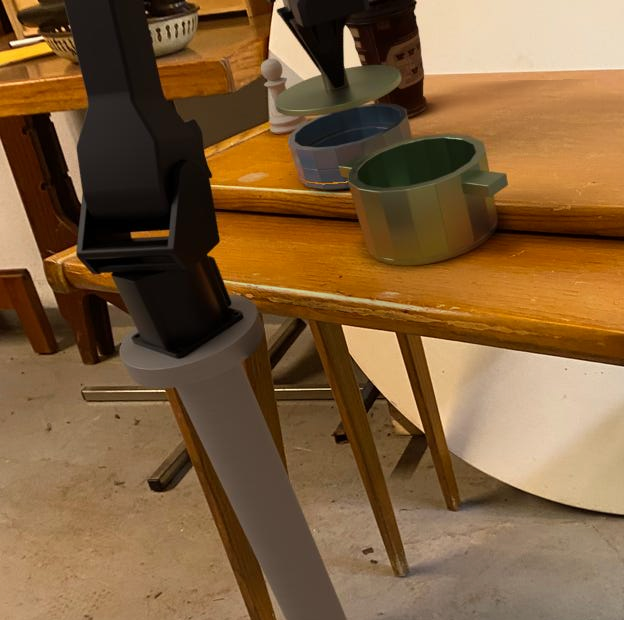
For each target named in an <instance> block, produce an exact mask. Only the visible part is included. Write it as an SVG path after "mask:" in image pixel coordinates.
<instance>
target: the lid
mask: <svg viewBox="0 0 624 620" xmlns="http://www.w3.org/2000/svg"><path fill="white" fill-rule="evenodd" d="M319 68H320V66H319ZM320 72H321V73H320ZM319 73H320V74H318V75H315V76H312V77H310V78H307V79H305V80H302V81H300V82H298V83H295V84H293V85H292V86H289V87H288V88H286V90H285V91H283V92H282V93H281V94H280V95H279V96H278V97H277V98H276V100H275V106H276V109H277V111H278V112H279V113H281V114H283V115H287V116H296V117H305V118H306V117H318V116H322V115H324V114H332V113H337V112H341V111H346V110H349V109H352V108H355V107H358V106H361V105H364V104H370V103H372V102H374V100H376V99H378V98H380V97H382V96H384V95H386V94H388V93H389V92H391V91H392V90H394V89H395V88H396V87H397V86H398V85H399V84H400V82H401V75H400V72H399V70H398V69H397V68H395V67H391V66H386V65H366V66H362V65H357V66H352V67H345V66H344V85H343V86H341V87H338V88H334V87H333V86H332V84H331V83H330V81H329V80H328V79H327V77H326V76H325V74H324V73H323V71H322V70H321V68H320V71H319Z"/></svg>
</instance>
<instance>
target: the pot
mask: <svg viewBox="0 0 624 620" xmlns="http://www.w3.org/2000/svg"><path fill="white" fill-rule="evenodd" d="M339 170H340V173H341V176H342V177H346V178H348V184H349V187H350V189H349V190H350V194H351V197H352V201H353V204H354V208H355V212H356V215H357V219H358V222H359V226H360V229H361V233H362V237H363V240H364V243H365V247H366V249H367V251H368V253H369V255H370V256H371V257H372V258H373V259H375V260H376V261H377V262H378V261H379V262H380V263H383V264H387V265H393V266H401V267H403V266H404V267H407V266H409V267H410V266H411V267H413V266H422V265H423V266H424V265H430V264H435V263H439V262H444V261H447V260H450V259H454V258H457V257H459V256H461V255H464V254H466V253H469V252H471V251H473V250H475V249H476V248H478V247H479V246H481V245H483V244H484V243H485V242H487V241H488V240H489V239H490V238H491V237H492V236H493V235H494V233H496V230H497V228H498V223H499V220H498V219H499V216H498V212H497V206H496V200H495V195H496V194H497V193H499V192H500V191H502V190H504V189H505V188H507V187H508V186H509V182H508V175H507V173H505V172H497V171H490V167H489V160H488V155H487V151H486V147H485V144H484V141H482V140H480V139H477V138H475V137H474V136H471V135H466V134H465V135H464V134H454V133H444V134H443V133H442V134H432V135H423V136H418V137H415V138H413V139H410V140H405V141H401V142H398V143H395V144H392V145H390V146H387V147H384V148H382V149H379V150H377V151H375V152H373V153H371V154H369V155H368V156H366V157H362V156H356V157H354V158H352V159H351V160H349V161H347V162H345V163H344V164H342V165H340V166H339Z"/></svg>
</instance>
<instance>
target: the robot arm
mask: <svg viewBox="0 0 624 620" xmlns="http://www.w3.org/2000/svg"><path fill="white" fill-rule="evenodd" d="M266 1H267V3H269V4H272V3H273V4H274V3H276V2H277V0H266ZM144 2H145V1H144V0H63V4H64V8H65V12H66V16H67V19H68V20H67V21H68V24H69V28H70V33H71V37H72V41H73V45H74V49H75V54H76V57H77V61H78V65H79V70H80V73H81V77H82V82H83V86H84V90H85V95H86V99H87V108H86V112H85V115H84V119H83V122H82V126H81V129H80V132H79V136H78V140H77V143H76V155H77V156H76V157H77V163H78V168H79V169H78V170H79V179H80V185H81V192H82V194H81V204H80V214H79V223H78V231H77V242H76V251H75V254H76V257H77V259H78V260H79V262H81V263H82V264H83V266H84V267H85V268H86V269H87V270H88V271H89V272H90V273H91V274H92V275H93V276H94V275H102V274H110V276H111V278H112V280H113V283H114V285H115V287H116V289H117V290H118V294H119V295H120V297H121V299H122V301H123V303H124V306H125V307H126V309H127V312H128V313H129V315H130V318H131V319H132V322H133V324H134V326H135V327H136V328H137V330H138V333H136V334H135V335H133V336H132V337H131V339H132V341H133V343H134V344H137V345H139V346H142V347H145V348H148V349H151V350H153V351H156V352H159V353H162V354H165V355H167V356H170V357H173V358H176V359H181V358H184V357H186V356H187V355H189V354H190V353H192V352H193V351H195V350H196V349H198V348H199V347H201V346H202V345H204V344H205V343H207V342H208V341H210V340H212V339H213V338H215V337H216V336H218V335H219V334H221V333H222V332H224V331H225V330H227V329H228V328H230V327H231V326H233V325H234V324H236V323H237V322H239V321H240V320H242V319H243V318H244V316H243V313H242V311H239V310H236V309H232V308H229V306H231V303H232V301H231V299H230V296H229V291H228V289H227V287H226V284H225V281H224V279H223V276H222V274H221V271H220V269H219V266H218V264H217V261H216V259H215V257H213V256H212V255H211V256H210V255H209V254H210V252H212V250H214V248H216V247H217V245H219V243H220V242H221V237H220V233H219V227H218V221H217V220H218V219H217V215H216V208H215V203H214V197H213V191H212V184H211V180H210V179H213V173H212V171H211V168H210V167H209V164H208V161H207V157H206V154H205V145H204V138H203V131H202V129H201V127H200V126H199V123H198V121H196V119H195V118H194V119H192V118H191V119H183V118H182V116H181V115H180V114H179V113H178V112H177V111H176V109H175V108H174V107H173V105H171V103H170V102H169V101H168V99H167V98H166V97H165V93H164V91H163V85H162V82H161V77H160V71H159V68H158V63H157V58H156V53H155V50H154V45H153V44H154V43H153V40H152V36H151V30H150V26H149V21H148V16H147V13H146V7H145V4H144ZM282 3H283V7H279V8H277V9H276V13H277V14H278V16H279V17H280V18H281V19H282V21H283V23H284V24H285V25H286V26H287V28H288V29H289V31H290V32H291V33H292V34H293V36H294V38H295V39H296V41H297V42H298V43H299V45H300V46H301V48H302V49H303V50H304V52H305V53H306V54H307V56H308V57H309V58H310V60H311V61H312V63H313V64H314V66H315V67H316V68H317V70H318V71H319V73H320V74H321V72H320V68H321V70H322V71H323V73H324V74H325V76H326V77H327V79H328V80H329V81H330V83H331V84H332V86H333V87H334V88H338V87H341V86H343V85H344V67H345V53H344V52H345V47H344V46H345V45H344V42H345V41H344V39H345V37H344V36H345V35H344V33H345V27H346V23H347V22H348V20H349V18H350V17H351V15H352V14H355V13H359V12H362V11H366V10H367V9H369V8H370V6H369V2H368V0H282ZM319 66H320V68H319ZM161 231H163V232H164V231H168V235H163V236H146V237H142V236H141V237H132V233H144V232H145V233H146V232H161Z"/></svg>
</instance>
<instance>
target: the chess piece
mask: <svg viewBox="0 0 624 620" xmlns="http://www.w3.org/2000/svg"><path fill="white" fill-rule="evenodd" d="M260 65H261V66H260V72H261V74H262V76H263V77H264V79H265V80H267V81H266V82H265V83H263V85H264V87H266V88H267V89H269V92H270V95H271V98H272V100H273V111H272V113H271V114H272V116H271V117H270V118H269V119H268V123H269V124H270V128H269V130H270V131H271V132H272V133H273V134H276V135H285V134H289V133H290V134H291V133H292V132H294V131H295V130H296V129H297V128H298V127H299V126H301V125H303V124H305V123H306V122H308V121H309V120H308V118H307V117H306V116H305V117H296V116H287V115H283V114H281V113H279V112H278V111H277V109H276V106H275V100H276V98H277V97H278V96H279V95H280V94H281V93H282V92H283V91H285V90H286V89H287V88H286V84H287V80H288V78H287V77H282V75H283V65H282V63H281V62H280V61H279V60H278V59H276V58H267V59H265V60H264V61H263V62H262V63H261V64H260Z"/></svg>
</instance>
